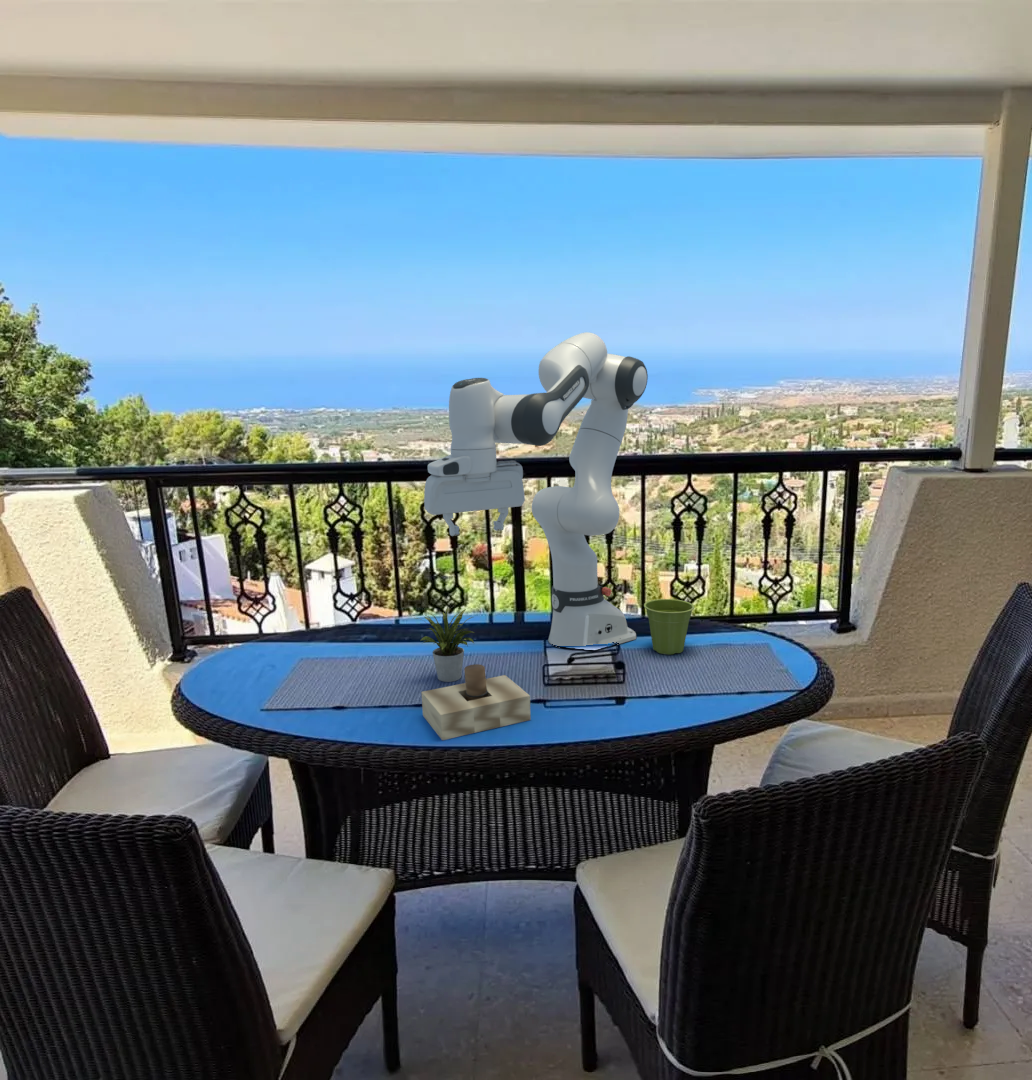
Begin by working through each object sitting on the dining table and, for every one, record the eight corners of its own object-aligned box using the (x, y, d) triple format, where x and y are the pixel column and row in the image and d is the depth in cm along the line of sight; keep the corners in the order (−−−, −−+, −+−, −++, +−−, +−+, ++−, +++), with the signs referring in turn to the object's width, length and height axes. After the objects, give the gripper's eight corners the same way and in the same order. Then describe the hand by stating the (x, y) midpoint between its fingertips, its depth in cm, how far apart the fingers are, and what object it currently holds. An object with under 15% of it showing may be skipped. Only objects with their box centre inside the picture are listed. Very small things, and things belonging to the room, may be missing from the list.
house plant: (417, 695, 154) (412, 621, 151) (408, 672, 168) (404, 604, 164) (482, 686, 158) (479, 614, 155) (469, 664, 171) (466, 597, 168)
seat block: (505, 697, 152) (505, 675, 151) (530, 719, 141) (529, 695, 140) (422, 715, 145) (421, 691, 144) (442, 740, 134) (440, 714, 133)
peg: (484, 709, 146) (480, 662, 144) (492, 717, 142) (488, 669, 140) (464, 714, 144) (460, 667, 142) (473, 722, 141) (468, 674, 138)
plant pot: (698, 658, 170) (699, 611, 168) (647, 659, 171) (647, 613, 168) (688, 641, 182) (688, 597, 180) (640, 642, 182) (640, 599, 180)
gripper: (515, 458, 149) (517, 525, 152) (419, 465, 141) (423, 535, 144) (528, 460, 144) (530, 529, 146) (429, 468, 135) (433, 540, 138)
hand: (476, 532), depth 145 cm, fingers open, 8 cm apart
